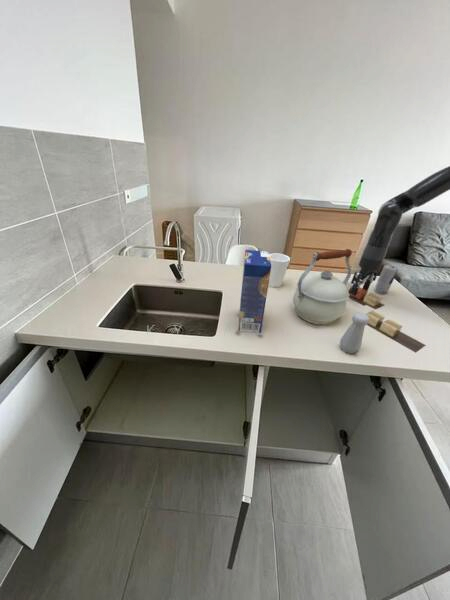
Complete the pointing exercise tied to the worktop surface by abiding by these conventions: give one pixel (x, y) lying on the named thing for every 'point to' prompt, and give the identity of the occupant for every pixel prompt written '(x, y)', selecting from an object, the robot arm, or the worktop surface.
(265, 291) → the juice carton
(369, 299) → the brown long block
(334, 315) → the kettle
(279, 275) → the foam cup
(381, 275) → the energy drink
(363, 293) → the s tile
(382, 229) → the robot arm
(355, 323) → the salt shaker
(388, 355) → the worktop surface
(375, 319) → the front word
